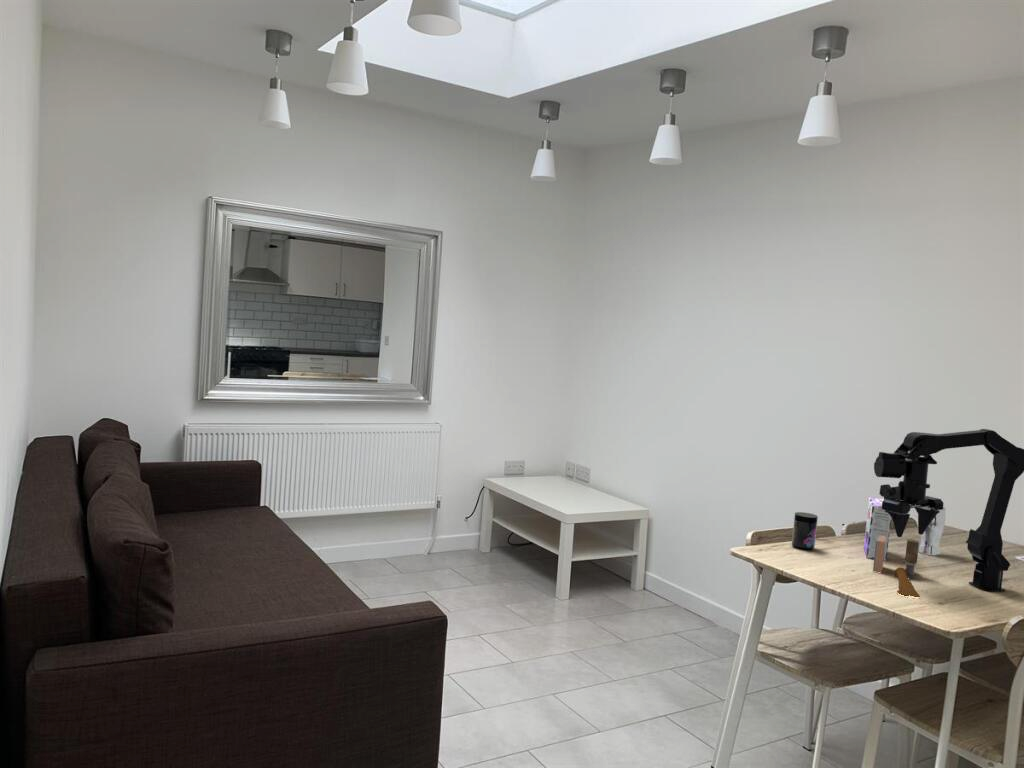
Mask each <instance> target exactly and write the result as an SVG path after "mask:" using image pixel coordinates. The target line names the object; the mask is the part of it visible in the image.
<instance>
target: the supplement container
mask: <svg viewBox="0 0 1024 768" xmlns="http://www.w3.org/2000/svg"><path fill="white" fill-rule="evenodd" d="M793 519H794V520H793V529H792V539H791V546H792V547H793V548H794V549H797V550H801V551H806V552H807V551H813V550H815V545H816V544H815V543H816V535H817V528H818V527H817V526H818V519H819V516H818V515H817V514H814V513H809V512H800V511H797V512H794V518H793Z"/></svg>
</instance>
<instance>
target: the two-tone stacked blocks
mask: <svg viewBox="0 0 1024 768" xmlns="http://www.w3.org/2000/svg"><path fill="white" fill-rule="evenodd" d="M919 545H920V540H919V539H912V538H906V549H905V556H904V557H905V558H904V562H905V563H906V565H905V569H906V570H907V572H908V578H909V580H911V579H913V580H914V573H915V572H914V571H915V564H917V563H918V555H919V554H918V553H919V552H918V548H919Z"/></svg>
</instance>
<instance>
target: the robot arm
mask: <svg viewBox="0 0 1024 768" xmlns="http://www.w3.org/2000/svg"><path fill="white" fill-rule="evenodd" d="M974 446H977V447H978V446H983V447H984V448H985V449H986V450H987V451H988V452H989V453H990V454H991V455H993V457H992V458H993V459H992V468H993V472H994V479H993V481H992V484H991V488H990V491H989V494H988V495H989V496H988V499H987V502H986V506H985V508H984V509H985V510H984V513H983V516H982V519H981V524H980V525H979V526H978V527H977V528H976V529H975V530H974V529H972V528H971V529H969V532H968V534H969V535H968V537H967V540H966V541H965V544H967V546H966V547H967V550H968V552H969V554H970V555H971V558H972V561H974V562H976V563H975V569H974V570H973V578H972V581H969V582H968V585H971V586H973V587H976V588H978V589H980V590H983V591H986V592H1006V591H1007V589H1006V588H1005V587H1004V588H1003V587H1002V585H1003V576H1004V572H1008V571H1009V568H1010V566H1011V563H1010V562H1009V561H1008V559H1007V558H1006V557H1005V556H1004V555H1003V545H1004V543H1003V538H1002V527H1003V523H1004V520H1005V518H1006V517H1005V516H1006V513H1007V511H1008V506H1009V502H1010V500H1011V496H1012V492H1013V489H1014V486H1015V483H1016V481H1017V479H1019V478H1020V476H1022V474H1023V473H1024V448H1022V447H1018V446H1016V445H1015V444H1013V443H1012V442H1010V441H1008V440H1007V439H1005V438H1004V437H1003V436H1001V435H1000V434H999V433H998V432H997V431H995V430H992V429H987V428H981V429H976V430H968V431H967V430H966V431H957V432H956V431H955V432H946V433H929V432H928V433H927V432H919V431H917V432H916V431H912V432H909V433H907V434H906V436H904V438H903V442H902V443H901V444H900V445H899V446H898V447H897V448H896V450H894V452H890V453H889V452H884V451H879V452H878V456H877V457H876V459H875V461H874V462H873V470H874V475H875V476H876V477H877V478H889V479H900V478H902V477H903V479H902V480H900V481H899V482H898V486H891V485H890V484H886V483H885V484H881V485H880V487H879V495H880V496H881V497H883V499H884V501H883V502H882V508H881V509H883V510H885V512H887V513H888V514H889V515H890V516H891V517H892V519H891V521H892V522H893V527H894V529H895V533H896V537H898V538H902V537H903V534H904V532H905V531H906V527H907V524H908V521H909V519H910V517H911V514H910V513H909V512H911V509H914V510H915V511H916V513H917V530H918V534H919V535H920V536H921V535H922V534H923V533H924V532H925V530H926V529H927V527H928V526H929V524H930V523H931V522H932V520H933V519H934V518H935V516H936V515H937V514H938V513H939V512H940V511H938V510H943V507H944V505H945V504H944V502H943V500H942V499H941V498H937V497H933V496H929V495H926V493H927V489H931V488H930V487H931V484H929V483H928V475H929V474H928V473H929V465H938V461H936V460H935V459H934V458H933V456H932V455H933V454H937V453H939V452H940V451H943V450H948V449H949V450H950V449H958V448H966V447H968V448H969V447H974Z"/></svg>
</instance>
